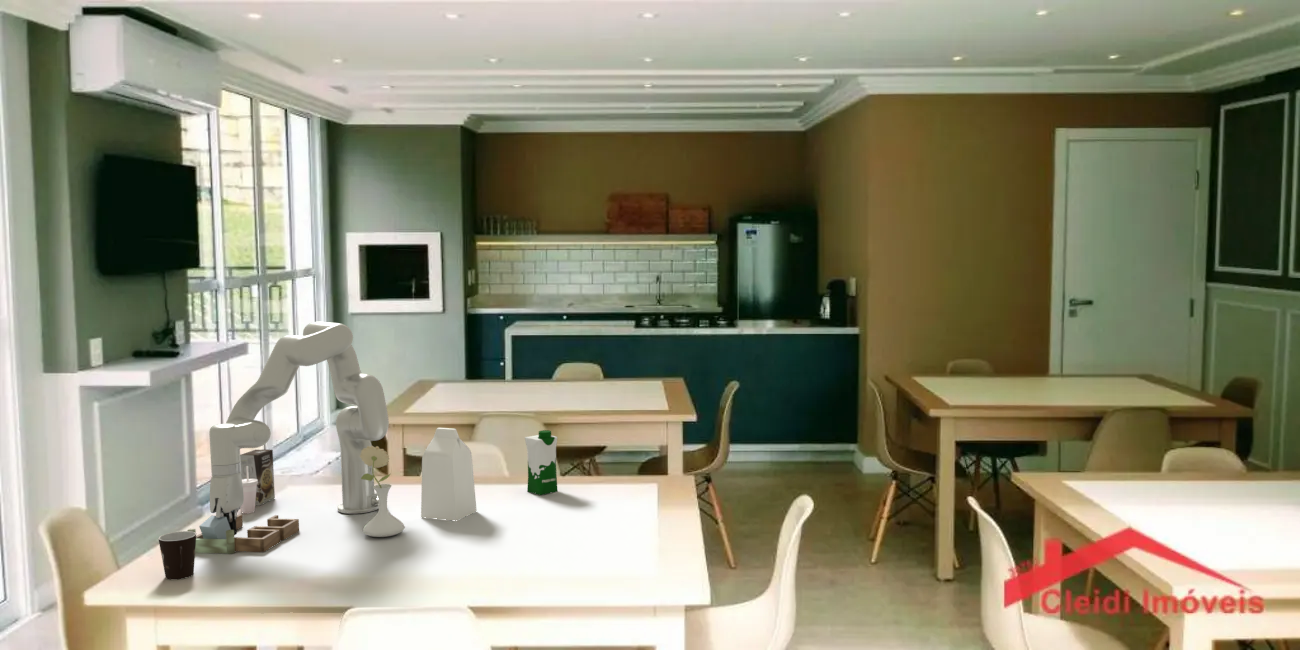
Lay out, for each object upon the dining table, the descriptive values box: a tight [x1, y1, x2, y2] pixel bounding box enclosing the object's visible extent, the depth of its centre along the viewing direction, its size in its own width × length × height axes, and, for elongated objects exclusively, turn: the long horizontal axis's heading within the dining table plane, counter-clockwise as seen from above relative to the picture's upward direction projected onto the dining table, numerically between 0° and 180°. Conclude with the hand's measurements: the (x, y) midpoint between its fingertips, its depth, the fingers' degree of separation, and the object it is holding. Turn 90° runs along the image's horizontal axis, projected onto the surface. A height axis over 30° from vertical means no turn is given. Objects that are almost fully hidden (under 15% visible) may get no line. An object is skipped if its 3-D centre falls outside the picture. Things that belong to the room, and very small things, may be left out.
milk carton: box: [524, 429, 559, 496], centre depth 345 cm, size 9×9×20 cm
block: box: [199, 515, 231, 539], centre depth 289 cm, size 5×5×7 cm
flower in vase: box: [360, 445, 406, 538], centre depth 298 cm, size 13×11×25 cm
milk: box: [420, 427, 478, 522], centre depth 318 cm, size 12×12×26 cm
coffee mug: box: [157, 530, 197, 580], centre depth 264 cm, size 12×9×10 cm
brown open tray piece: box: [186, 514, 300, 555], centre depth 296 cm, size 20×26×6 cm
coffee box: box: [240, 448, 276, 506], centre depth 338 cm, size 9×6×16 cm
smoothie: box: [240, 466, 258, 514], centre depth 326 cm, size 6×6×14 cm
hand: (229, 535), depth 293 cm, fingers closed
